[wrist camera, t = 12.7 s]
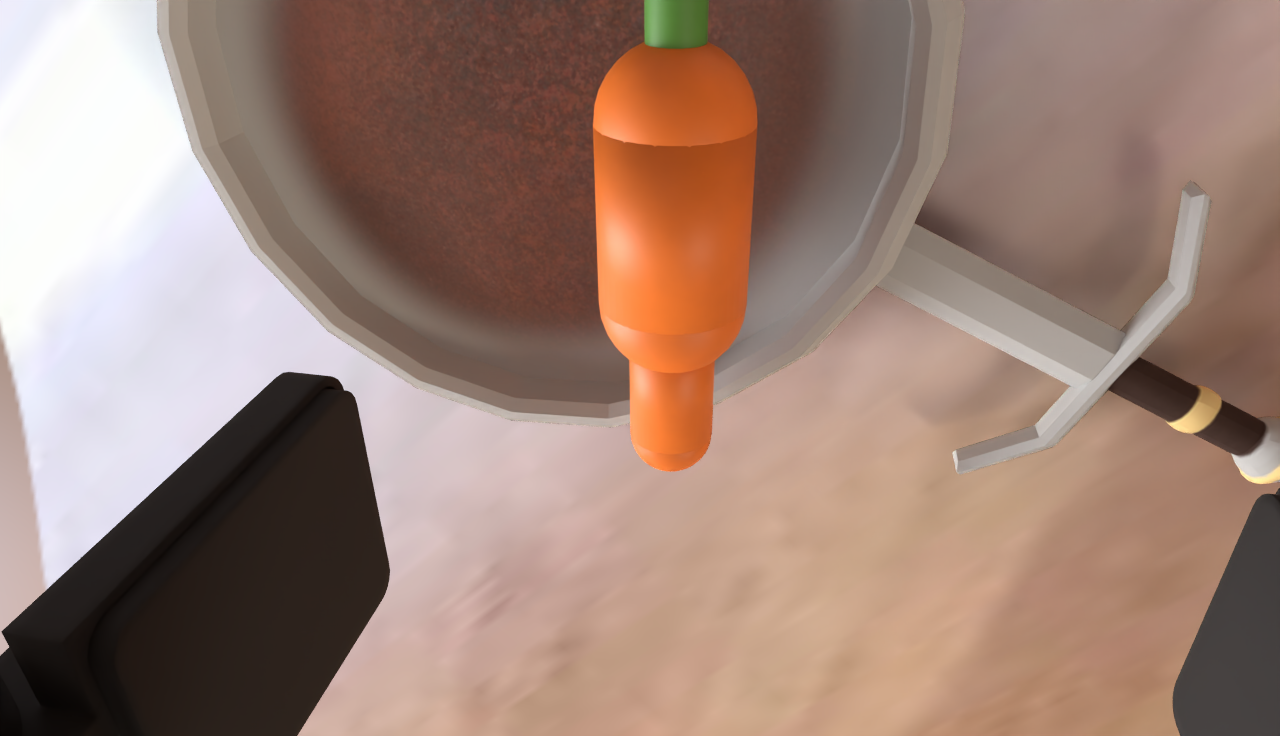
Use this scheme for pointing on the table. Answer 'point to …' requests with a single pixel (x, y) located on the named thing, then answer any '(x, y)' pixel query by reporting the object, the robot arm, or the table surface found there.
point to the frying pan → (566, 210)
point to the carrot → (673, 222)
